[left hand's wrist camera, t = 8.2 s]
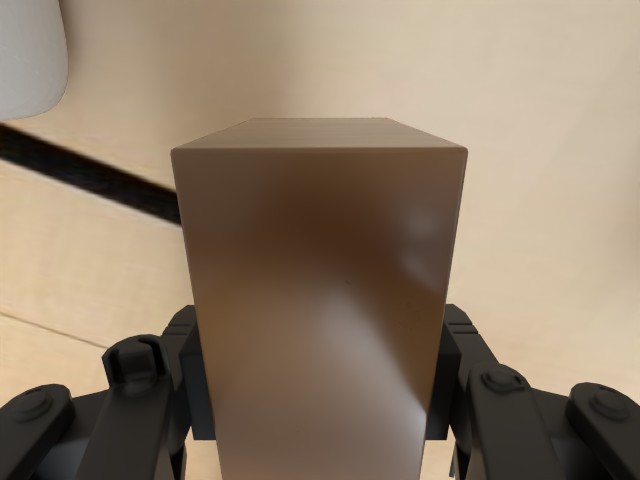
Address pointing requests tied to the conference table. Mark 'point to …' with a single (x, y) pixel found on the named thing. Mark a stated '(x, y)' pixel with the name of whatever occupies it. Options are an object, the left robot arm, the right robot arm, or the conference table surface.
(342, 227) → the bar
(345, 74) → the conference table surface
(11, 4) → the projector
